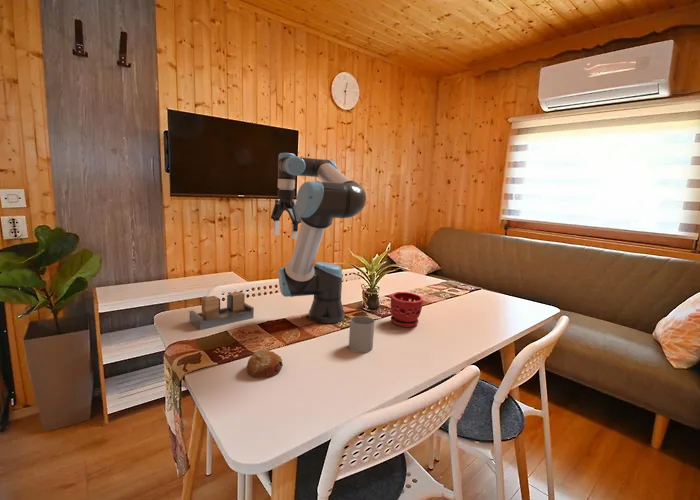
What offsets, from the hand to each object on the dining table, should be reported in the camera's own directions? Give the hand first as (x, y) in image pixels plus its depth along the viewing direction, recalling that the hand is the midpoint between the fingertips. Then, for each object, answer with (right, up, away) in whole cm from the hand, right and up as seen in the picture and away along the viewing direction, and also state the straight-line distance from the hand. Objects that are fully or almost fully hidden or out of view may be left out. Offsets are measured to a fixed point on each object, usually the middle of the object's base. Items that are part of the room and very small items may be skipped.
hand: (285, 236), depth 164 cm
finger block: (-25, -32, -22) cm, 47 cm away
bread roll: (+4, -42, -56) cm, 70 cm away
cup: (+33, -40, -37) cm, 64 cm away
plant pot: (+52, -37, -11) cm, 65 cm away
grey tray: (-22, -34, -19) cm, 44 cm away
